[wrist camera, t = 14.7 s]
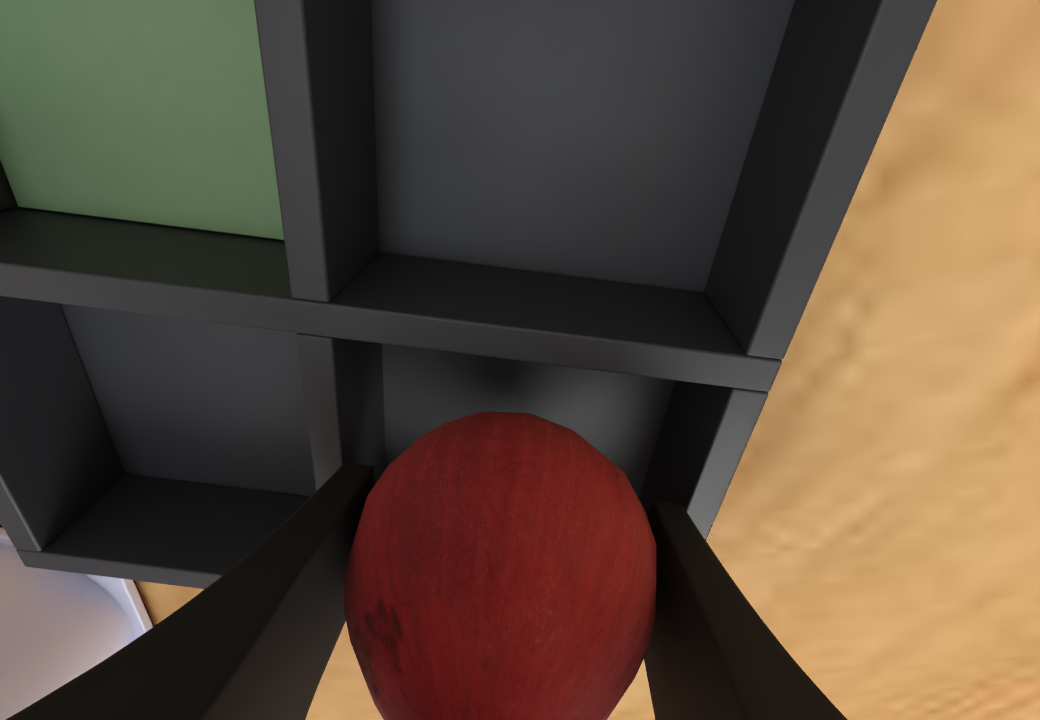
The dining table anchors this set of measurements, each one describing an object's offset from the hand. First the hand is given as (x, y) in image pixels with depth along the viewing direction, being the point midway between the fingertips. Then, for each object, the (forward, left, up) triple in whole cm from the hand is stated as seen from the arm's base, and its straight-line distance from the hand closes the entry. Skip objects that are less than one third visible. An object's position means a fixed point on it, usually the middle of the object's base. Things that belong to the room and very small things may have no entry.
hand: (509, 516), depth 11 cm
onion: (0, 0, -3) cm, 3 cm away
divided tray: (+4, +4, -4) cm, 7 cm away
